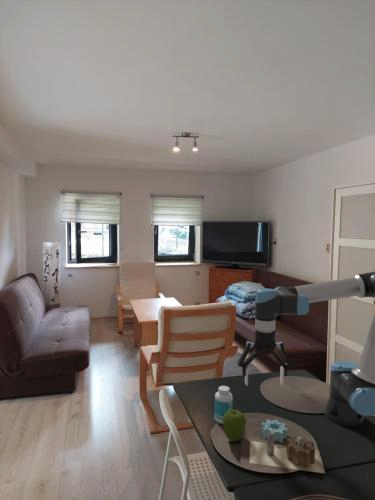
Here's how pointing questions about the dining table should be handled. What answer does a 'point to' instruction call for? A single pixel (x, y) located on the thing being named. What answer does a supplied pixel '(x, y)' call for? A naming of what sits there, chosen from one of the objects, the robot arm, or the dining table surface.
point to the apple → (234, 424)
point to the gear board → (281, 455)
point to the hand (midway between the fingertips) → (264, 384)
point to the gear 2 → (300, 452)
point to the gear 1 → (274, 430)
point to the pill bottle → (222, 403)
